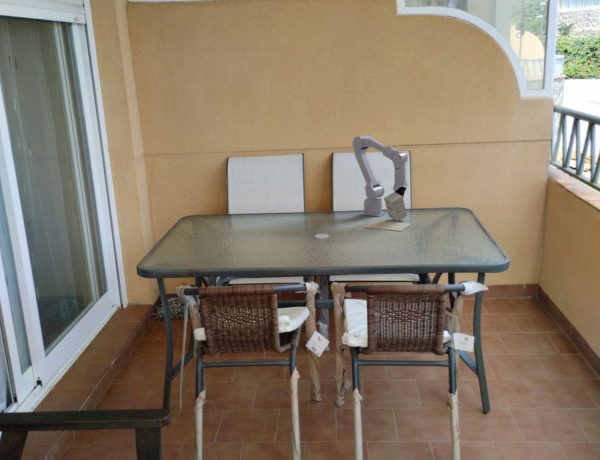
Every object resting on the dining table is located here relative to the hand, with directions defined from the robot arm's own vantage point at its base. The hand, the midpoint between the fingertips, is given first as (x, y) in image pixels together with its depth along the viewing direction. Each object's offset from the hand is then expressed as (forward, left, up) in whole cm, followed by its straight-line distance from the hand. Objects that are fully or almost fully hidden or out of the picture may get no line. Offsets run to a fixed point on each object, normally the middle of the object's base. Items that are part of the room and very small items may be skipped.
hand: (400, 201), depth 318 cm
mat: (0, -16, -10) cm, 19 cm away
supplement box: (0, -3, -8) cm, 8 cm away
